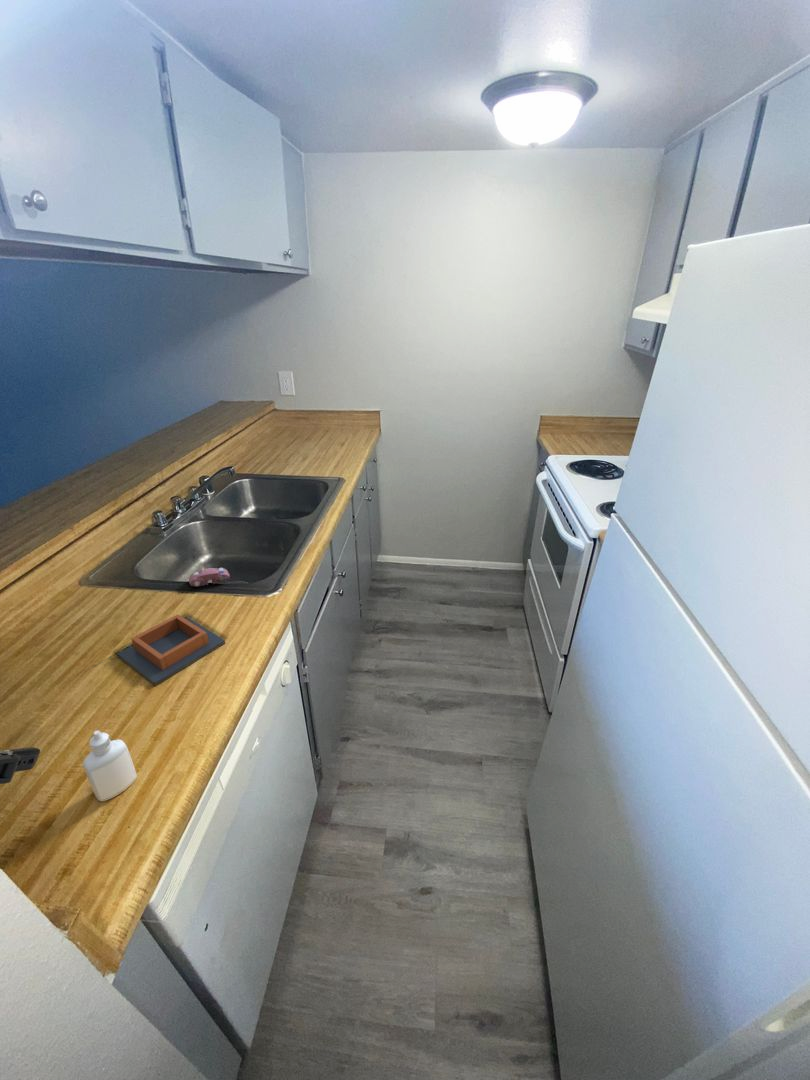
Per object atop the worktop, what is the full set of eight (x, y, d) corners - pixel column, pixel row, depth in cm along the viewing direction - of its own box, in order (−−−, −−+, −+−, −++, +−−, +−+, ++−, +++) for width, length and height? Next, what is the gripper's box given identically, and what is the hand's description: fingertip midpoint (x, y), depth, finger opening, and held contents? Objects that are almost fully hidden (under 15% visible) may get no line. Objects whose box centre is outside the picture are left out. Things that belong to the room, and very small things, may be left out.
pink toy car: (191, 596, 121) (187, 581, 116) (189, 581, 123) (185, 566, 118) (231, 588, 125) (230, 574, 119) (229, 574, 127) (227, 559, 122)
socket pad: (155, 686, 91) (151, 670, 89) (117, 656, 98) (112, 641, 96) (225, 643, 103) (222, 628, 101) (187, 619, 110) (184, 605, 108)
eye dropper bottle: (136, 792, 72) (117, 738, 67) (93, 805, 70) (70, 750, 65) (138, 768, 76) (120, 715, 70) (98, 780, 74) (76, 726, 68)
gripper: (-93, 739, 39) (69, 728, 54) (-214, 702, 42) (-28, 702, 57) (-142, 841, 37) (41, 800, 52) (-265, 795, 39) (-58, 769, 55)
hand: (5, 749), depth 54 cm, fingers open, 8 cm apart
